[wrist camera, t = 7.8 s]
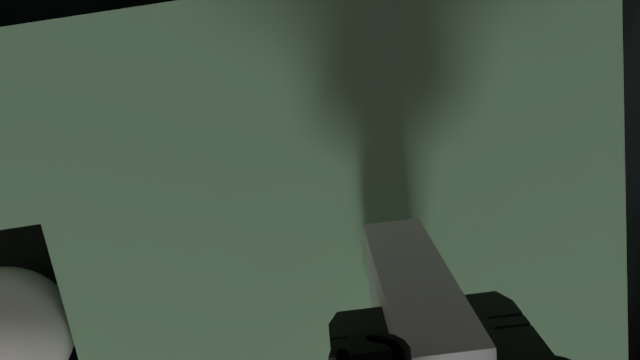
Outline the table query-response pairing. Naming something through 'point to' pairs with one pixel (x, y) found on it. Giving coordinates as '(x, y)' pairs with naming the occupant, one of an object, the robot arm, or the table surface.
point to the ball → (32, 317)
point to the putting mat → (313, 166)
